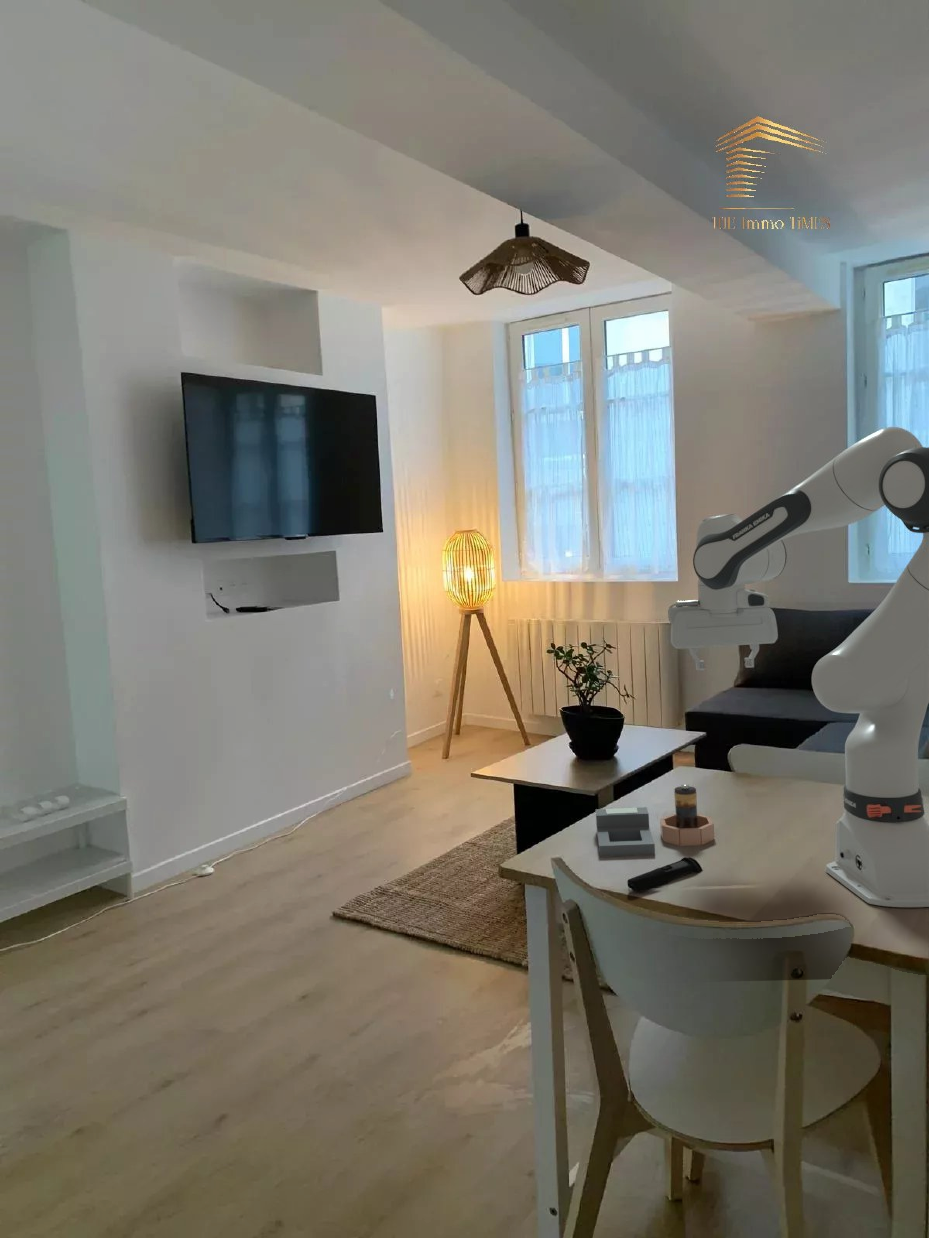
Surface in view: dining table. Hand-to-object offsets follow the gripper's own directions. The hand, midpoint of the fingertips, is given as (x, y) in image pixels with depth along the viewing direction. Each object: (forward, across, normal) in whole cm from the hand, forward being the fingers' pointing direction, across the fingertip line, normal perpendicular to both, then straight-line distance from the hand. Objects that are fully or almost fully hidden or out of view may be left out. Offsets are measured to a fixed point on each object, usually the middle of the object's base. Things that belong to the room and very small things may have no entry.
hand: (724, 668), depth 184 cm
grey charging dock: (+31, -22, -11) cm, 40 cm away
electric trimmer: (+32, -16, -30) cm, 46 cm away
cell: (+30, -10, -9) cm, 33 cm away
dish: (+31, -10, -9) cm, 34 cm away
